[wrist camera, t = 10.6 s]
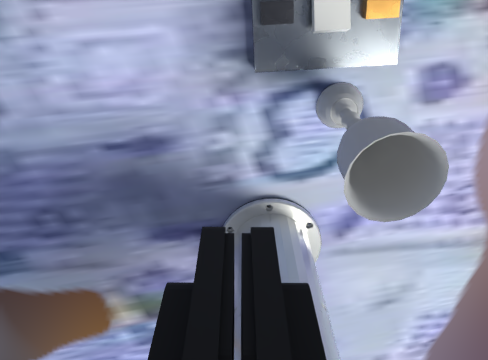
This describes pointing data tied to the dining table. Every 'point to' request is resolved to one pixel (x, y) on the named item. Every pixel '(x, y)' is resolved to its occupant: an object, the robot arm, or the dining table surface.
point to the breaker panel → (324, 36)
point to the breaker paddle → (331, 16)
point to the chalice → (382, 159)
